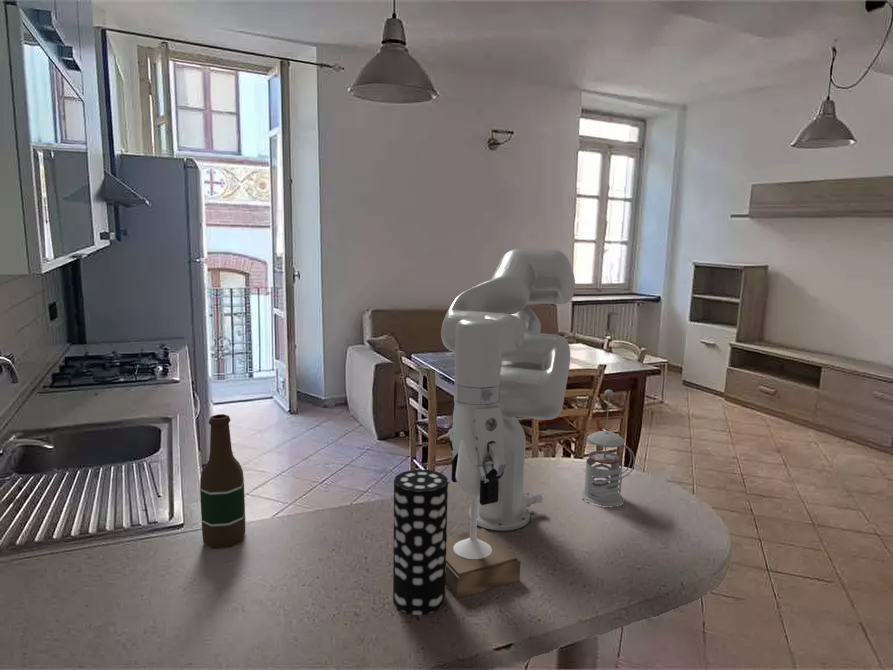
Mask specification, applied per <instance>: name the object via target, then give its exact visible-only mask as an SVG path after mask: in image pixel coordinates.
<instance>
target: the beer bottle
mask: <svg viewBox="0 0 893 670" xmlns="http://www.w3.org/2000/svg"><path fill="white" fill-rule="evenodd" d="M230 422H231V417H230V415H227V414H224V413H219V414H214V415H211V416H210V418H209V419H208V424H209V426H210V431H209V432H210V435H209V437H210V439H209V440H210V441H209V447H210V448H209V458H208V461H207V462H206V463H205V466H204V468H203V469H202V473H201V475H200V479H199V482H200V483H199V493H200V496H199V497H200V513H201V517H200V518H201V533H202V542H203V544H204V545H205V546H207V547H210V548H211V549H215V550H216V549H226V548H231V547H233V546H235V545H238V544H239V543H242V542H243V540H244V537H245V533H246V505H245V504H246V501H245V500H246V499H245V478H244V470H243V468H242V466H241V464H240V462H239V461H238V460H237V459H236V457H234V452H233V450H232V448H233V447H232V441H231V431H230V430H231V429H230Z"/></svg>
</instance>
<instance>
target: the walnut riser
mask: <svg viewBox="0 0 893 670" xmlns="http://www.w3.org/2000/svg"><path fill="white" fill-rule="evenodd" d="M467 538H470V531H467V532H466V531H465V532H462V533H458V534H454V535H449V536H447V546H446V587H447V588H449V589H450V590H449V589H448V590H449V591H450V592H451V593H452V595H454V597H455V598H456V599H461V598H465V597H467V596H471V595H474V594H478V593H481V592H484V591H487V590H491V589H494V588H497V587H502V586H505V585H509V584H512V583H515V582H519V581H521V562H522V561H521V560H520V558H519V557H517V556H516V555H515V554H514V553H513V552H511V551H510V550H509V549H508V548H507V547H506V546H505V545H503V544H502V543H501V542H500V541H499V540H498V539H496V538H495V537H494V535H492V534H491V533H489V531H488V530H486V528H483V527H482V528H480V529H479V528H478V529H477V536H476V538H477V539H479V540H481V541H484V542H486V543H487V544H489V545H490V546H491V548H492V552H491V554H490V555H489V556H487V557H485V558H482V559H467V558H463V557H461V556H459V555H457V554H456V553H455V552H454V549H453V547H454V545H455V544H456V543H457V542H459V541H462V540H465V539H467Z"/></svg>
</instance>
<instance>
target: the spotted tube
mask: <svg viewBox="0 0 893 670" xmlns="http://www.w3.org/2000/svg"><path fill="white" fill-rule="evenodd" d="M448 493H449V479H448V477H447V475H445V474H443V473H441V472H439V471H436V470H432V469H431V470H430V469H409V470H406V471H403V472H400V473H399V474H397V475H395V477H394V480H393V548H392V549H393V551H392V552H393V556H392V557H393V560H392V561H393V565H392V566H393V569H392V570H393V571H392V572H393V573H392V575H393V576H392V577H393V579H392V581H393V582H392V583H393V585H392V586H393V587H392V600H393V604H394V606H395V607H396V609H398V610H399V611H401V612H403V613H406V614H409V615H415V616H424V615H428V614H432V613H435V612H437V611H439V610H440V609H441V608H442V607H443V606H444V604H445V603H446V587H447V586H446V546H447V537H448V534H447V533H448V499H449V498H448V495H449V494H448Z"/></svg>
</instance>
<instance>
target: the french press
mask: <svg viewBox="0 0 893 670" xmlns="http://www.w3.org/2000/svg"><path fill="white" fill-rule="evenodd" d="M604 396H607V397H608V398H607V399H608V400H607V413H606V427H605V428H606V429H605V430H598V431H595V432H592V433H591V434H588V435H587V436H586V437H587V441H588V442H589V443H590V444H591V445H594V446H597V447H604V450H594V451H593V450H592V451H591V452H589V453H588V454H587V456H588V458H587V460H586V461H585V462H586V463H585V479H584V489H583V490H582V491H581V492H582V494H581V495H582V497H583V498H584V499H585V500H586V501H589V502H591V503H594V504H598V505H601V506H617V505H620V504H622V503H623V501H624V502H625V499H624V497H623V495H622V494H621V492H622V480H623V479H624V478H625V477H627V476H629V475H630V474H631V473H632V471H633V469H634V467H635V461H636V457H635V454H634V451H632V449H631V448H630V447H629V446H628V445H626V444H625V442H626V440H625V439H624V438H623V437H622V436H620V435H619V434H617V433H615V432H612V431H609V430H608V422H609V420H608V419H609V406H610V405H609V404H610V397H613V396H614V392H613V390H612V389H606V390H605V391H604ZM606 448H611V449H612V448H619V451H621V453H623V452H624V451H625V448H626V449H627V450H628V451H629V455H630V456H629V458H630V460H629V464H628V466H627V468H626V469H625V470H624V471H623V464H622V463H620V462H621V460H622V457H621V456H620V455H619V454H617V453H615V452H611V451H606ZM632 459H633V462H632ZM596 463H598V464H596ZM631 464H632V466H631ZM593 465H594V466H593ZM630 466H631V469H630V471H629V472H628V473H627V474H625V473H626V472H627V471H628V470H629V468H630ZM601 467H602V468H601ZM603 468H604V469H603ZM623 474H625V475H623ZM622 475H623V476H622ZM623 504H624V503H623ZM623 504H622V505H623ZM620 506H621V505H620ZM617 507H618V506H617Z"/></svg>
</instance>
